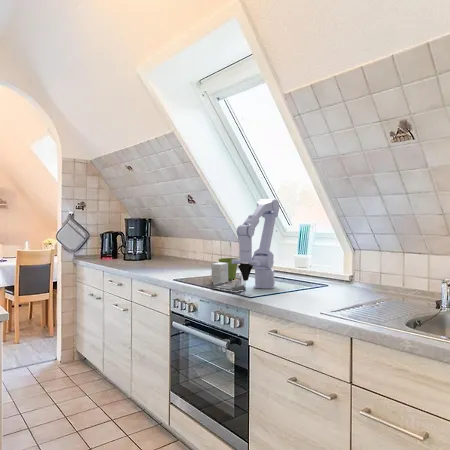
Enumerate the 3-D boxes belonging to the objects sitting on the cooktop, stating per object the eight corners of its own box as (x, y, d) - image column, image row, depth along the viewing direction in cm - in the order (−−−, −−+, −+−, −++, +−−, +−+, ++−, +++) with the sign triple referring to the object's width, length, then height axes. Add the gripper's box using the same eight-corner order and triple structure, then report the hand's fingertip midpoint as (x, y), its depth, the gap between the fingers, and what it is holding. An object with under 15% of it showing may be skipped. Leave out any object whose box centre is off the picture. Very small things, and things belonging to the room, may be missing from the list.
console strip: (245, 290, 196) (245, 284, 196) (235, 292, 190) (235, 287, 190) (222, 287, 205) (222, 281, 205) (211, 289, 198) (211, 284, 198)
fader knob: (239, 287, 195) (239, 279, 195) (235, 288, 193) (235, 280, 193) (235, 286, 196) (235, 278, 196) (231, 287, 194) (231, 279, 194)
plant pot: (243, 278, 231) (243, 258, 231) (232, 281, 222) (231, 260, 221) (225, 276, 238) (225, 257, 238) (213, 279, 228) (213, 259, 228)
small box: (219, 281, 221) (219, 262, 221) (228, 282, 218) (228, 262, 218) (211, 284, 214) (211, 263, 214) (220, 285, 212) (220, 264, 211)
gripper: (227, 250, 192) (227, 280, 192) (253, 252, 183) (253, 282, 183) (236, 249, 197) (236, 278, 198) (262, 251, 188) (262, 280, 189)
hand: (245, 280), depth 191 cm, fingers closed
